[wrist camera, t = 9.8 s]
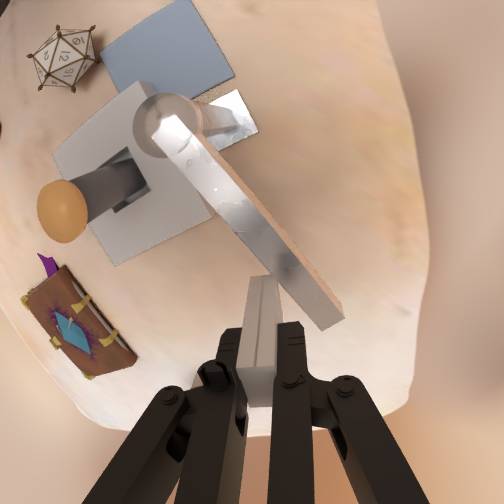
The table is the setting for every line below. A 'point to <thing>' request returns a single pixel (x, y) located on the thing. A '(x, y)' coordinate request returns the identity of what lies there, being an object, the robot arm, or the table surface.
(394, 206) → the table surface
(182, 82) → the pad
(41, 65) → the game die
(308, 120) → the table surface
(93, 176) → the plug
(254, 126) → the post
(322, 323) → the silver ball-ended lever
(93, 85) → the table surface
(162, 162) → the socket block
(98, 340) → the book
